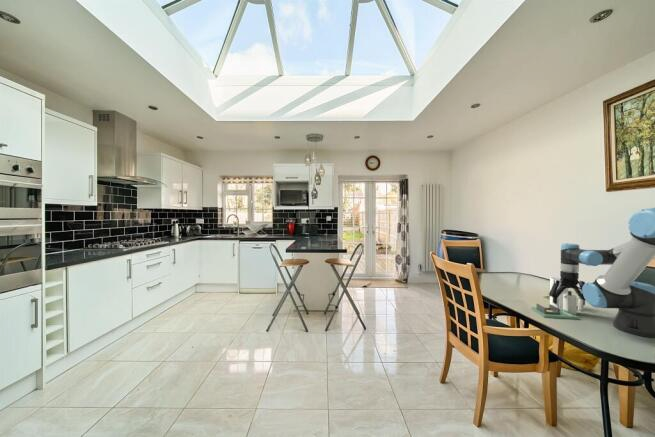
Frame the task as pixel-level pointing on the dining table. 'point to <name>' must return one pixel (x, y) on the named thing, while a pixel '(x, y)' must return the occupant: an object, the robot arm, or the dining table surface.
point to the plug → (569, 302)
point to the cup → (560, 294)
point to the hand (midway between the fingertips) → (568, 310)
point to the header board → (553, 312)
